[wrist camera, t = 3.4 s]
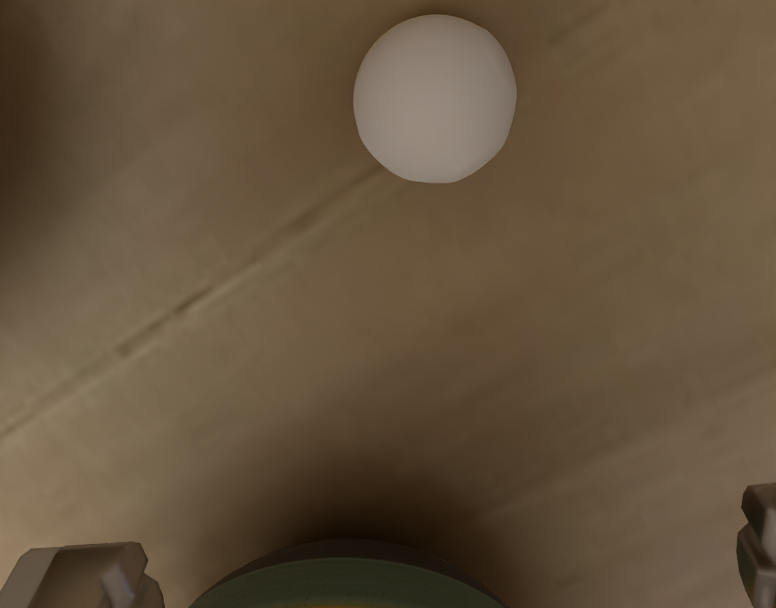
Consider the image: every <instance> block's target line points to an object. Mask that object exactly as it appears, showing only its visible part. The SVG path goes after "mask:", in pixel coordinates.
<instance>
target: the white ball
mask: <svg viewBox="0 0 776 608" xmlns="http://www.w3.org/2000/svg"><path fill="white" fill-rule="evenodd" d="M516 100H517V89H516V83H515V78H514V74H513V70H512V67H511V64H510V62H509V59H508V57H507V55H506V53H505V51H504V50H503V48H502V46H501V45H500V44H499V42H498V41H497V40H496V38H495V37H494V36H493V35H492V34H491V33H490V32H489V31H487V30H486V29H484V28H482V27H480V26H478V25H476V24H474V23H472V22H469V21H467V20H464V19H462V18H458V17H455V16H450V15H440V14H433V15H423V16H418V17H414V18H411V19H408V20H406V21H403V22H401V23H399V24H397V25H396V26H394V27H392V28H391V29H389V30H388V31H387V32H385V33H384V34H383V35H382V36H381V37H380V38H379V39H378V40H377V41H376V42H375V43H374V44H373V46H372V47H371V48H370V49H369V51H368V52H367V54H366V56H365V57H364V59H363V61H362V63H361V65H360V68H359V71H358V73H357V77H356V81H355V86H354V93H353V108H354V115H355V120H356V124H357V128H358V133H359V136H360V138H361V140H362V142H363V143H364V145H365V146H366V148H367V149H368V151H369V152H370V153H371V154H372V155H373V157H374V158H375V159H376V160H377V161H378V162H379V163H381V164H382V165H383V166H384V167H385V168H387V169H388V170H389V171H391V172H392V173H394V174H396V175H398V176H399V177H402V178H404V179H406V180H410V181H417V182H424V183H452V182H456V181H459V180H461V179H463V178H465V177H467V176H469V175H471V174H472V173H474V172H476V171H477V170H479V169H480V168H481V167H483V166H484V165H485V164H486V163H488V162H489V161H490V160H491V159H492V158H493V157H494V156H495V155H496V154H497V153H498V152H499V151H500V149H501V148H502V147H503V145H504V144H505V142H506V140H507V137H508V134H509V131H510V128H511V124H512V121H513V117H514V112H515V106H516Z"/></svg>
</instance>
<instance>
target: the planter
mask: <svg viewBox="0 0 776 608" xmlns="http://www.w3.org/2000/svg"><path fill="white" fill-rule="evenodd" d="M188 608H509V607H508V606H507V605H506V604H505V603H504V602H503V601H502V600H501V599H500V598H499V597H498V596H497V595H495V594H494V593H493V592H492V591H491V590H489V589H488V588H487V587H485V586H484V585H483V584H482V583H480V582H479V581H478V580H476V579H475V578H473V577H472V576H470V575H469V574H468V573H466V572H464V571H463V570H461V569H459V568H457V567H456V566H454V565H452V564H450V563H448V562H446V561H444V560H442V559H440V558H438V557H436V556H433V555H431V554H429V553H426V552H423V551H420V550H417V549H414V548H411V547H407V546H404V545H400V544H395V543H391V542H385V541H379V540H371V539H356V538H344V539H330V540H321V541H314V542H308V543H303V544H299V545H295V546H291V547H288V548H285V549H282V550H279V551H276V552H273V553H271V554H268V555H266V556H263V557H261V558H258V559H256V560H254V561H252V562H250V563H248V564H246V565H245V566H243V567H241V568H239V569H238V570H236V571H234V572H232V573H231V574H229V575H227V576H226V577H224V578H223V579H221V580H220V581H218V582H217V583H216V584H215V585H213V586H212V587H211V588H210V589H208V590H207V591H206V592H205V593H203V594H202V595H201V596H200V597H199V598H197V599H196V600H195V601H194V602H193V603H192V604H191V605H190V606H189V607H188Z"/></svg>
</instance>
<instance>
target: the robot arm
mask: <svg viewBox="0 0 776 608" xmlns="http://www.w3.org/2000/svg"><path fill="white" fill-rule="evenodd" d="M741 509H742V510H743V512H744V514H745V516H746V518H747V520H748V523H747V524H746V525H745V526H744V527H743V528H742V529H741V530H740V531H739V532H738V537H737V548H736V553H737V560H738V567H739V573H740V576H741V579H742V582H743V585H744V588H745V590H746V592H747V595H748V597H749V599H750V601H751V603H752V605H753V607H755V608H776V483H769V484H759V485H749V486H747V488H746V490H745V491H744V493H743V498H742V505H741ZM147 562H148V558H147V556H146V554H145V552H144V550H143V548H142V546H141V543H137V542H118V543H102V544H86V545H71V546H64V547H50V548H34V549H30V550H29V551H27V552H26V553H25V554H23V555H22V556H21V557H20V558H19V560H18V562H17V563H16V565H15V567H14V569H13V570H12V572H11V574H10V576H9V577H8V579H7V581H6V583H5V584H4V586H3V588H2V590H1V591H0V608H165V605H164V599H163V594H162V591H161V589H160V586H159V584H158V582H157V581H155V580H154V579H153V578H151V577H150V576H148V575H147V574H145V573H144V570H145V568H146V565H147Z"/></svg>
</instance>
